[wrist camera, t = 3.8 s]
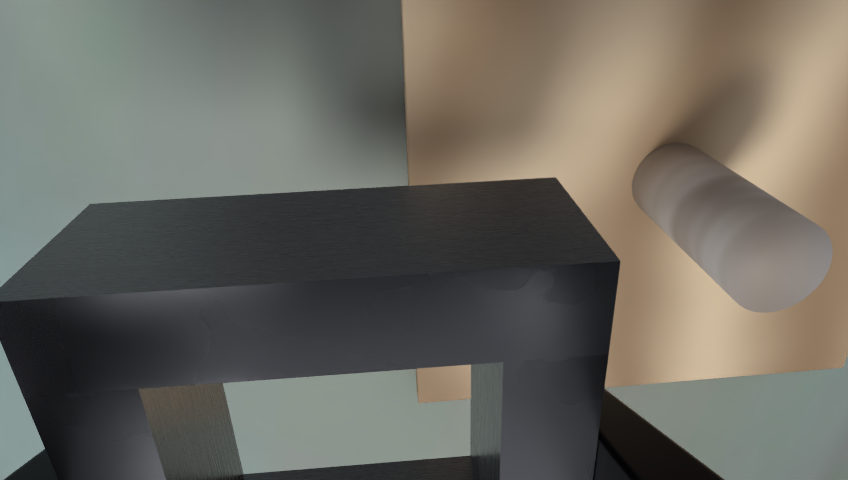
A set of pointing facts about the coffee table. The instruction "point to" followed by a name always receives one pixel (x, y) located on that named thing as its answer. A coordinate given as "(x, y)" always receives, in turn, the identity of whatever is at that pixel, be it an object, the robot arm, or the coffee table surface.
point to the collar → (315, 323)
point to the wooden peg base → (659, 163)
